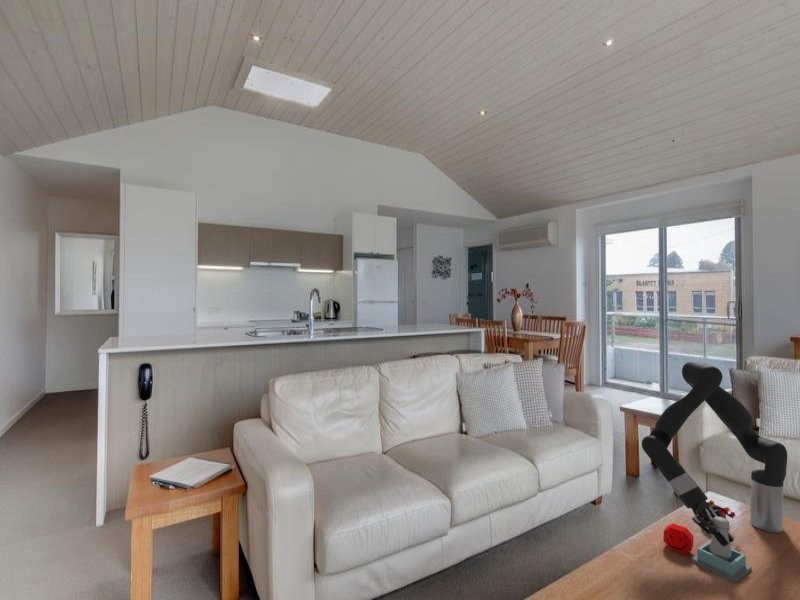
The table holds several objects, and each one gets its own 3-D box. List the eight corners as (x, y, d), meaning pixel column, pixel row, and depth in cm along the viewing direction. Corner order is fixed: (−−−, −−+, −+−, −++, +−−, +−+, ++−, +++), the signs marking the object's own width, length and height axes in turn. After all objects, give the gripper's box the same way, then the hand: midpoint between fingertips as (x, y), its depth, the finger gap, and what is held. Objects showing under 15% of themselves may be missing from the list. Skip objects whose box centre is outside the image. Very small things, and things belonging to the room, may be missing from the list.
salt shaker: (735, 565, 132) (736, 524, 132) (715, 562, 133) (716, 522, 133) (725, 553, 138) (726, 515, 137) (705, 551, 139) (706, 513, 138)
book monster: (711, 518, 163) (744, 537, 152) (694, 522, 161) (726, 541, 149) (713, 492, 163) (746, 509, 151) (695, 496, 160) (727, 513, 149)
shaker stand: (708, 549, 143) (708, 537, 143) (751, 569, 133) (751, 555, 133) (691, 561, 137) (691, 547, 137) (734, 582, 127) (735, 568, 127)
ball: (661, 549, 144) (662, 527, 143) (667, 539, 149) (667, 518, 149) (689, 559, 138) (690, 537, 138) (694, 549, 144) (694, 527, 144)
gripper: (685, 490, 138) (728, 546, 128) (706, 481, 145) (748, 533, 135) (668, 499, 142) (708, 554, 132) (689, 489, 150) (728, 540, 139)
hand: (728, 543), depth 133 cm, fingers closed on salt shaker, 3 cm apart
